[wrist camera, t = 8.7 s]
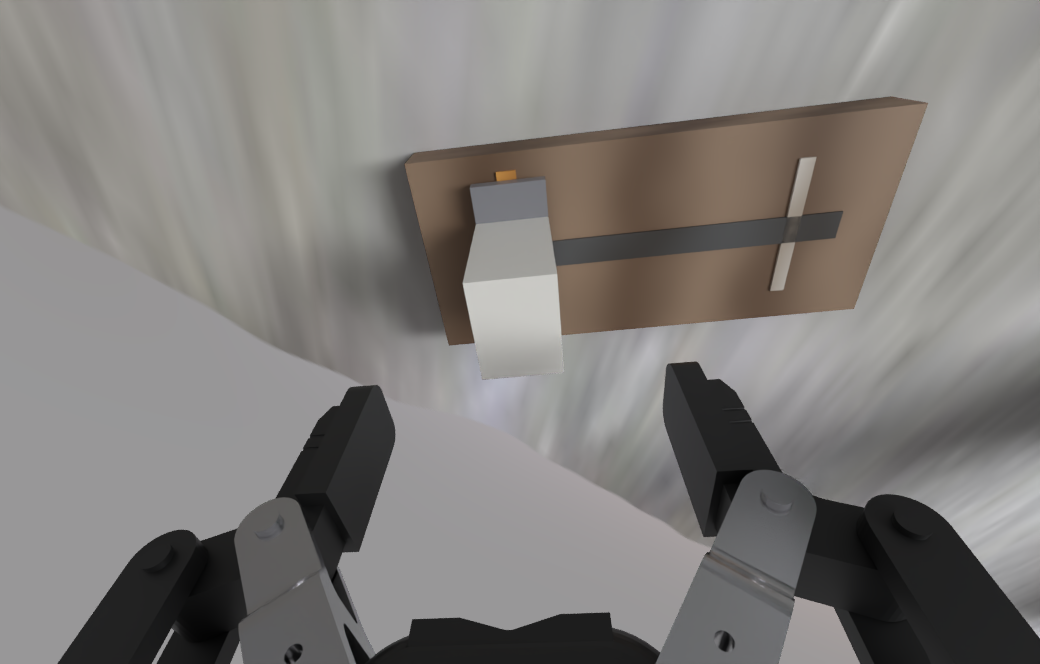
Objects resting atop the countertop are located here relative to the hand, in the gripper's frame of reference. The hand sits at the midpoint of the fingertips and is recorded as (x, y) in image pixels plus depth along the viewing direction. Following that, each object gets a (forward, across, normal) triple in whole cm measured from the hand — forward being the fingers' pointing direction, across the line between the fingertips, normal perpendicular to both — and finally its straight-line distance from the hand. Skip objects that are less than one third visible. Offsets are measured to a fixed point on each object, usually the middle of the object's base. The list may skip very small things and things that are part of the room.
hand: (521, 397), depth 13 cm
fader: (+9, 0, 0) cm, 9 cm away
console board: (+11, -6, 0) cm, 13 cm away
